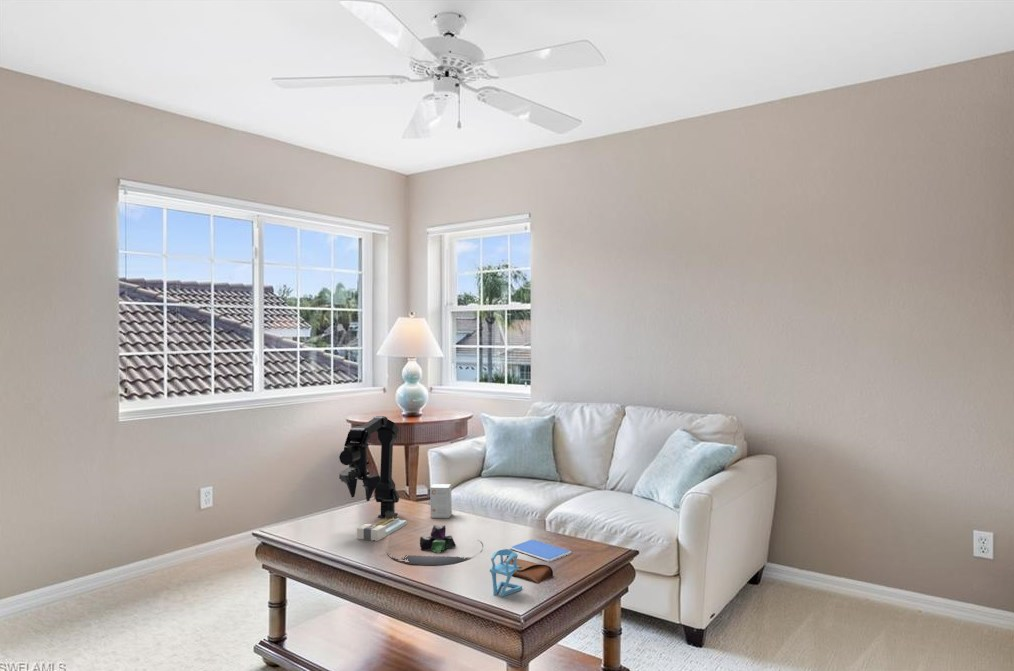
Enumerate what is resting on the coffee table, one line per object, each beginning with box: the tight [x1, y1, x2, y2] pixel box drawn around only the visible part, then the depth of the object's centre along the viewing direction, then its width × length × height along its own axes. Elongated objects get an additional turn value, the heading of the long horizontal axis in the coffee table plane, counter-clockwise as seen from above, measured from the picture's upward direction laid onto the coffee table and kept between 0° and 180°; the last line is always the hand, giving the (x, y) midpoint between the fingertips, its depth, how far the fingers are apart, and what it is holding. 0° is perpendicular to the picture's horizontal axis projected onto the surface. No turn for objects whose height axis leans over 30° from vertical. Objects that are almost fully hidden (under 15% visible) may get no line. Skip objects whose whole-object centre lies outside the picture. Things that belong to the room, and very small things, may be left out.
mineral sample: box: [387, 524, 484, 566], centre depth 229 cm, size 35×35×9 cm
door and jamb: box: [356, 517, 408, 542], centre depth 249 cm, size 22×9×4 cm, turn 160°
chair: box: [489, 548, 523, 598], centre depth 189 cm, size 8×8×12 cm
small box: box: [429, 483, 453, 519], centre depth 270 cm, size 8×6×13 cm
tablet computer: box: [509, 539, 572, 563], centre depth 224 cm, size 19×13×1 cm, turn 45°
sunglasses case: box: [503, 555, 554, 584], centre depth 203 cm, size 18×7×7 cm
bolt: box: [374, 511, 395, 527], centre depth 251 cm, size 10×3×4 cm, turn 160°
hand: (360, 499), depth 247 cm, fingers open, 9 cm apart
